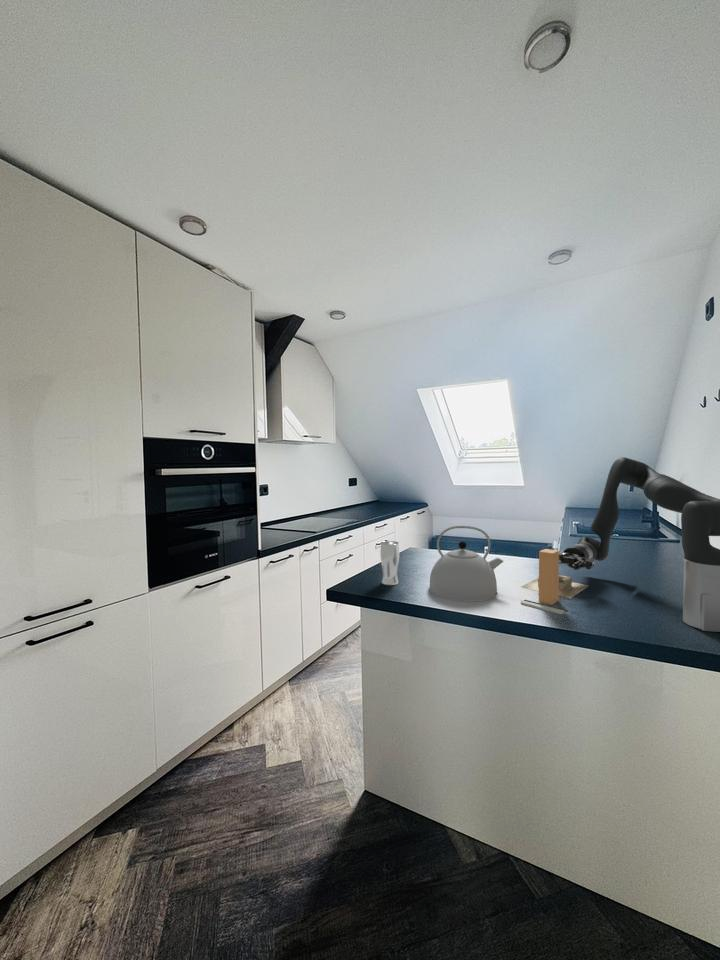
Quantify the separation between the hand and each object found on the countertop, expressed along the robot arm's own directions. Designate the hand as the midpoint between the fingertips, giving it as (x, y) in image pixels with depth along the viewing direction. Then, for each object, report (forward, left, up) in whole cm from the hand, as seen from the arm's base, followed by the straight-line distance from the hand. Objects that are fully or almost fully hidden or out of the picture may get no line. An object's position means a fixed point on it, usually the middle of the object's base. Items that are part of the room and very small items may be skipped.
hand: (561, 564), depth 125 cm
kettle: (0, +30, -11) cm, 32 cm away
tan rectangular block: (-8, +6, -10) cm, 14 cm away
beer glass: (+3, +57, -11) cm, 58 cm away
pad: (-8, +6, -11) cm, 15 cm away
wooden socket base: (+7, 0, -11) cm, 13 cm away
